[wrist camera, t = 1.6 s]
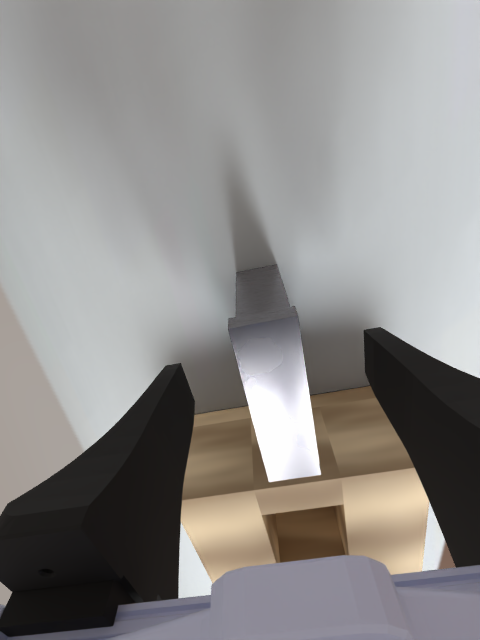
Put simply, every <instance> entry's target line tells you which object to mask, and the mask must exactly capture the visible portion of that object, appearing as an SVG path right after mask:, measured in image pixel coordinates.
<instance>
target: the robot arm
mask: <svg viewBox="0 0 480 640" xmlns="http://www.w3.org/2000/svg"><path fill="white" fill-rule="evenodd" d="M364 352H365V373H366V376H367V378H368V381H369V383H370V386H371V388H372V390H373V393H374V395H375V397H376V398H377V400H378V402H379V404H380V405H381V407H382V409H383V411H384V412H385V414H386V416H387V418H388V419H389V421H390V423H391V424H392V426H393V428H394V429H395V431H396V433H397V435H398V436H399V438H400V440H401V441H402V443H403V445H404V447H405V449H406V451H407V453H408V454H409V457H410V459H411V461H412V463H413V465H414V468H415V470H416V472H417V474H418V476H419V479H420V481H421V483H422V485H423V488H424V490H425V492H426V495H427V497H428V499H429V502H430V504H431V506H432V509H433V511H434V513H435V516H436V518H437V521H438V523H439V526H440V528H441V531H442V533H443V536H444V538H445V540H446V543H447V546H448V548H449V551H450V553H451V556H452V558H453V561H454V563H455V566H456V568H448V569H439V570H430V571H421V572H412V573H403V574H394V575H391V574H390V572H389V570H388V569H387V567H386V565H385V564H383V563H381V562H380V561H377V560H374V559H372V558H369V557H367V556H358V555H341V556H333V557H324V558H316V559H307V560H299V561H290V562H282V563H273V564H265V565H257V566H248V567H243V568H239V569H235V570H232V571H228V572H226V573H225V574H223V575H222V576H221V577H220V578H218V579H217V580H216V581H215V582H214V583H213V584H212V588H211V595H206V596H197V597H188V598H179V599H178V575H179V543H180V524H181V508H182V494H183V484H184V477H185V471H186V466H187V460H188V454H189V449H190V443H191V438H192V432H193V426H194V408H195V401H194V398H193V395H192V393H191V390H190V387H189V384H188V382H187V379H186V376H185V374H184V371H183V368H182V366H181V363H179V364H173V365H167V366H165V367H164V369H163V370H162V371H161V372H160V373H159V375H158V376H157V377H156V378H155V380H154V381H153V382H152V383H151V385H150V386H149V387H148V388H147V390H146V391H145V392H144V393H143V394H142V396H141V397H140V398H139V399H138V400H137V402H136V403H135V404H134V405H133V406H132V407H131V408H130V409H129V410H128V411H127V413H126V414H125V415H124V416H123V417H122V418H121V419H120V420H119V421H118V422H117V423H116V424H115V425H114V426H113V427H112V428H111V429H110V430H109V431H108V432H107V433H106V434H105V435H104V436H103V437H101V438H100V439H99V440H98V441H97V442H96V443H95V444H93V445H92V446H91V447H90V448H88V449H87V450H86V451H85V452H84V453H82V454H81V455H80V456H79V457H77V458H76V459H75V460H74V461H72V462H71V463H70V464H68V465H67V466H65V467H64V468H63V469H61V470H60V471H58V472H57V473H56V474H54V475H53V476H51V477H50V478H48V479H47V480H45V481H44V482H42V483H41V484H39V485H38V486H36V487H34V488H33V489H31V490H29V491H28V492H26V493H25V494H23V495H21V496H20V497H18V498H17V499H15V500H13V501H11V502H10V503H8V504H7V506H6V507H5V509H4V511H3V512H2V514H1V516H0V582H1V583H3V584H4V585H5V586H6V587H7V588H8V589H10V590H11V591H12V592H13V593H12V595H11V597H10V599H9V601H8V603H7V605H6V606H4V605H0V640H480V378H477V377H475V376H472V375H470V374H467V373H465V372H462V371H460V370H458V369H456V368H453V367H451V366H449V365H447V364H445V363H443V362H441V361H439V360H437V359H435V358H433V357H431V356H429V355H427V354H425V353H424V352H422V351H420V350H418V349H416V348H415V347H413V346H411V345H410V344H408V343H406V342H404V341H403V340H401V339H399V338H398V337H396V336H394V335H393V334H391V333H389V332H388V331H386V330H384V329H383V328H381V327H378V328H373V329H367V330H364Z"/></svg>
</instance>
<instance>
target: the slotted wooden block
mask: <svg viewBox="0 0 480 640" xmlns="http://www.w3.org/2000/svg"><path fill="white" fill-rule="evenodd" d="M310 402H311V409H312V416H313V423H314V430H315V436H316V443H317V450H318V457H319V464H320V471H321V475H316V476H309V477H302V478H295V479H288V480H281V481H274V482H269V480H268V477H267V473H266V469H265V465H264V462H263V458H262V454H261V450H260V447H259V443H258V439H257V435H256V432H255V428H254V424H253V420H252V417H251V413H250V409H249V406H245V407H239V408H233V409H227V410H221V411H214V412H208V413H202V414H196V415H194V426H193V432H192V438H191V443H190V449H189V454H188V460H187V466H186V471H185V477H184V484H183V494H182V508H181V523H182V525H183V527H184V528H185V530H186V532H187V534H188V536H189V538H190V540H191V542H192V544H193V546H194V548H195V550H196V552H197V554H198V556H199V558H200V560H201V561H202V563H203V565H204V567H205V569H206V571H207V573H208V575H209V577H210V579H211V581H212V583H214V582H215V581H216V580H217V579H218V578H220V577H221V576H222V575H223V574H225V573H226V572H228V571H232V570H235V569H239V568H243V567H248V566H257V565H265V564H273V563H282V562H290V561H299V560H307V559H316V558H324V557H333V556H341V555H358V556H367V557H369V558H372V559H374V560H377V561H380V562H381V563H383V564H385V565H386V567H387V569H388V570H389V572H390V574H391V575H394V574H403V573H412V572H421V571H422V565H423V555H424V546H425V536H426V527H427V517H428V508H429V499H428V497H427V495H426V492H425V490H424V488H423V485H422V483H421V481H420V479H419V476H418V474H417V472H416V470H415V468H414V465H413V463H412V461H411V459H410V457H409V454H408V453H407V451H406V449H405V447H404V445H403V443H402V441H401V440H400V438H399V436H398V435H397V433H396V431H395V429H394V428H393V426H392V424H391V423H390V421H389V419H388V418H387V416H386V414H385V412H384V411H383V409H382V407H381V405H380V404H379V402H378V400H377V398H376V397H375V395H374V393H373V390H372V388H371V386H367V387H360V388H354V389H348V390H342V391H336V392H330V393H324V394H318V395H312V396H310Z"/></svg>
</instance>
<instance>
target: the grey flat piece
mask: <svg viewBox="0 0 480 640" xmlns="http://www.w3.org/2000/svg"><path fill="white" fill-rule="evenodd" d="M228 330H229V334H230V338H231V342H232V345H233V349H234V353H235V357H236V360H237V364H238V368H239V372H240V375H241V379H242V383H243V387H244V390H245V394H246V398H247V402H248V405H249V409H250V413H251V417H252V420H253V424H254V428H255V432H256V435H257V439H258V443H259V447H260V450H261V454H262V458H263V462H264V465H265V469H266V473H267V477H268V480H269V482H274V481H281V480H288V479H295V478H302V477H309V476H316V475H321V471H320V464H319V457H318V450H317V443H316V436H315V430H314V423H313V416H312V409H311V402H310V395H309V388H308V381H307V374H306V367H305V360H304V353H303V346H302V340H301V333H300V326H299V319H298V314H297V311H296V308H295V306H292V307H290V304H289V301H288V298H287V295H286V291H285V288H284V285H283V282H282V279H281V275H280V272H279V269H278V266H277V265H272V266H267V267H262V268H257V269H252V270H247V271H242V272H237V273H236V317H234V318H229V320H228Z"/></svg>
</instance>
